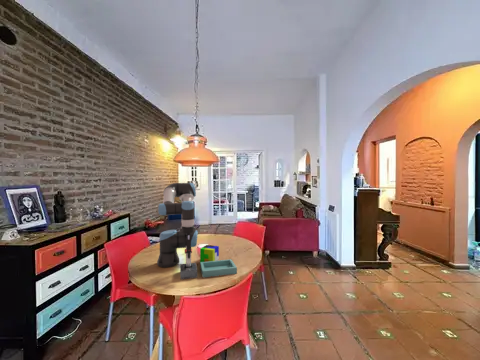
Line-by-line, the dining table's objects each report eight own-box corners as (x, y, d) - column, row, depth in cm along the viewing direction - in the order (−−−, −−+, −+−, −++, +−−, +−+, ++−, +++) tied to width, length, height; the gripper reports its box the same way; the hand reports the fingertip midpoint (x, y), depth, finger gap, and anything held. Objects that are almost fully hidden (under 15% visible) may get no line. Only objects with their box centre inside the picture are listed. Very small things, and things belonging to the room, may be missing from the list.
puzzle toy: (218, 259, 175) (218, 246, 175) (212, 264, 166) (212, 250, 166) (206, 258, 179) (206, 244, 178) (200, 262, 169) (200, 248, 169)
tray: (200, 267, 159) (200, 262, 159) (231, 264, 165) (231, 259, 165) (202, 277, 144) (202, 271, 144) (236, 273, 150) (236, 267, 150)
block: (180, 271, 153) (180, 264, 153) (195, 270, 156) (195, 262, 156) (180, 279, 142) (180, 271, 142) (197, 277, 144) (197, 269, 144)
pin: (184, 273, 150) (184, 248, 150) (192, 272, 152) (191, 248, 151) (185, 276, 146) (184, 250, 146) (192, 275, 147) (192, 250, 147)
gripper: (181, 222, 159) (181, 253, 160) (182, 230, 135) (182, 267, 135) (192, 221, 161) (193, 252, 162) (195, 229, 137) (196, 265, 137)
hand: (188, 259), depth 148 cm, fingers open, 13 cm apart
